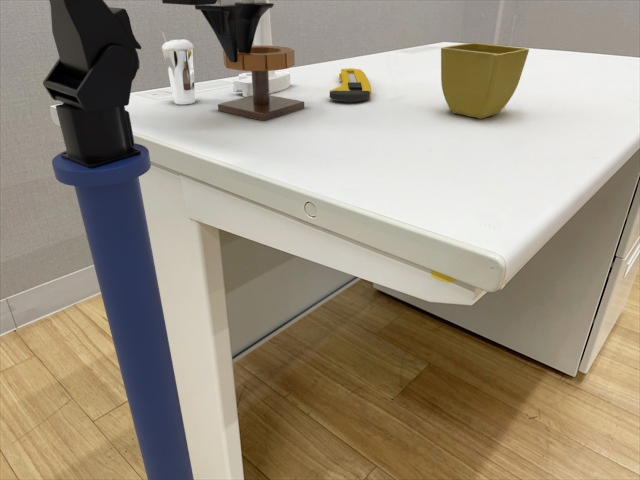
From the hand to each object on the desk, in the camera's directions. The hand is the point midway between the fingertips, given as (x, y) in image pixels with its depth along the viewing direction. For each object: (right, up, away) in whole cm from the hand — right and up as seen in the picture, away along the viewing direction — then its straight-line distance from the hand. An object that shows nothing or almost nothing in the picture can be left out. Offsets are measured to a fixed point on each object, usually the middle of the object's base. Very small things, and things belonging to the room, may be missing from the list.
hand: (239, 61), depth 67 cm
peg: (+2, -5, +6) cm, 8 cm away
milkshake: (-10, -3, +10) cm, 15 cm away
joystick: (0, +2, +19) cm, 19 cm away
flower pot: (+33, -6, +5) cm, 34 cm away
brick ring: (+2, +1, +3) cm, 4 cm away
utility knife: (+16, +2, +19) cm, 25 cm away
